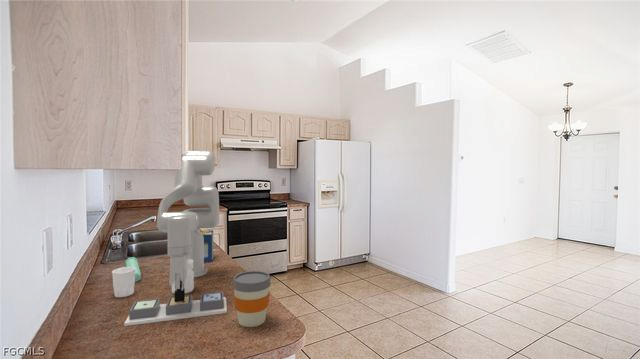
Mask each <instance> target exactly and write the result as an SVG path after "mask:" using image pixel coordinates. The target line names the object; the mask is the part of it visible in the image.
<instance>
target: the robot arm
mask: <svg viewBox="0 0 640 359" xmlns="http://www.w3.org/2000/svg"><path fill="white" fill-rule="evenodd" d="M187 151H188V153H187V154H186V155H183V157H182V168H181V169H180V170H176V169H175V175H174V176H175V177H174V186H173V188H171V190H169V191H168V192H167V193H166V194H165V195H164V197H163V198H162V199H161V200H160V203H159V205H158V212H157V217H156V218H157V219H156V220H157V221H156V227H157V230H158V231H159V232H161V233H167V256H168V257H170V260H169V261H170V262H169V263H170V264H169V283H168V285H169V286H171V285H172V284H173V283H174V281H175V291H174V293H173V294H174V296H173V297H174V298H175V302H180V301H184V299H185V296H186V293H185V288H184V283H185V280H186V276H187V259H191V260H193V268H192V269H191V270H192V271H193V272H194V278H199V277H202V276H205V275H207V274H208V268H206V267H205V262H204V237H203V235H202V233H201V232H200V231H201V230H199V229H215V228H216V227H218V226H219V225H220V224H219V222H220V197H219V195H220V194H219V190H218V188H217V187H216V186H210V185H205V186H204V185H203V176H211V175H213V173H214V170H215V167H216V164H217V163H216V162H217V160H216V155H215V153H214V152H213V151H210V150H209V151H208V150H187ZM180 200H183V203H184V205H186V206H189V207H196V208H187V209H185V210H183V211H170V212H169V211H168V210H169V208H170V207H171V206H172V205H173V204H175V203H176V202H178V201H180ZM197 207H198V208H197ZM201 207H206V208H201ZM207 207H208V208H207Z"/></svg>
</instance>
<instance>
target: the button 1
mask: <svg viewBox="0 0 640 359" xmlns="http://www.w3.org/2000/svg"><path fill="white" fill-rule="evenodd" d="M155 305H156V300H151V301H142V302H137V304H136V306H135V307H134V309H133V310H136V309H144V308H153V307H155Z"/></svg>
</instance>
